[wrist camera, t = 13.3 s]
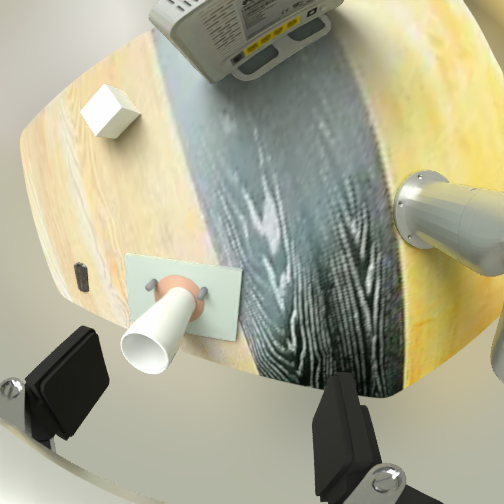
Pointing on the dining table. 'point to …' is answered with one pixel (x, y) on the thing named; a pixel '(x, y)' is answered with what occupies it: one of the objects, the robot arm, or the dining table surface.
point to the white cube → (109, 112)
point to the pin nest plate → (194, 280)
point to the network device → (237, 31)
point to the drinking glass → (159, 332)
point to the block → (81, 276)
